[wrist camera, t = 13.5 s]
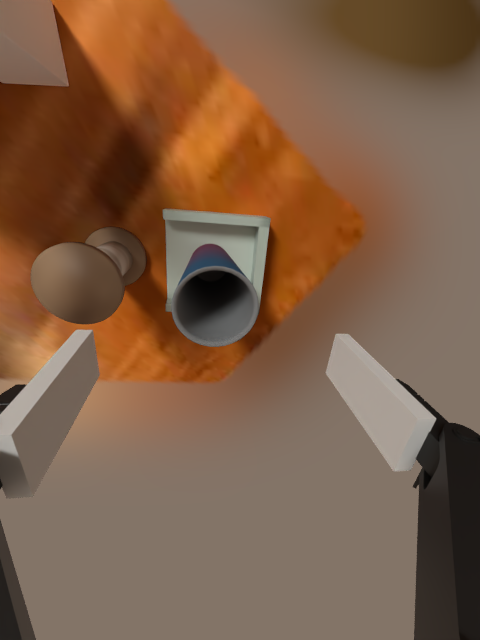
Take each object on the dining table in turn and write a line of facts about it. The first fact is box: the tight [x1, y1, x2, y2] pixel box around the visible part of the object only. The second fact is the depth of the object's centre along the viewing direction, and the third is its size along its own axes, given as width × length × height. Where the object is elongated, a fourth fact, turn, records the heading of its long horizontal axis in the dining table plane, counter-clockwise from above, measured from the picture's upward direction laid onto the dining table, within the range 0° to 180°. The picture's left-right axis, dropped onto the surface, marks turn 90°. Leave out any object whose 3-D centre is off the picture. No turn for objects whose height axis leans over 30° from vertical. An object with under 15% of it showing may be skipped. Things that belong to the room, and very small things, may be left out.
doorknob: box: [31, 227, 147, 324], centre depth 28 cm, size 7×7×12 cm
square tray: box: [163, 208, 270, 314], centre depth 34 cm, size 12×12×3 cm
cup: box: [171, 244, 259, 347], centre depth 28 cm, size 7×7×15 cm
